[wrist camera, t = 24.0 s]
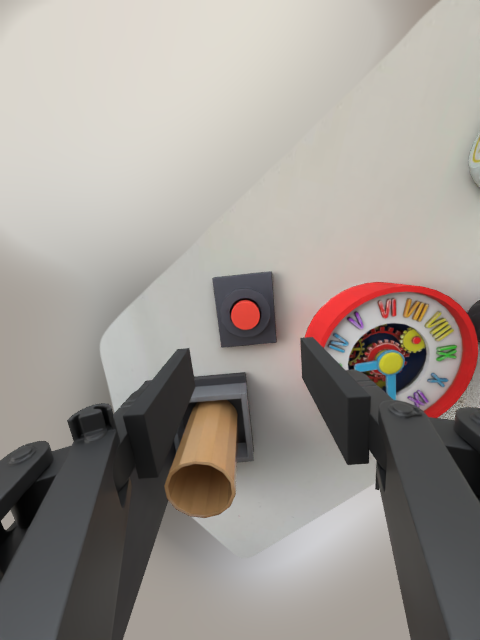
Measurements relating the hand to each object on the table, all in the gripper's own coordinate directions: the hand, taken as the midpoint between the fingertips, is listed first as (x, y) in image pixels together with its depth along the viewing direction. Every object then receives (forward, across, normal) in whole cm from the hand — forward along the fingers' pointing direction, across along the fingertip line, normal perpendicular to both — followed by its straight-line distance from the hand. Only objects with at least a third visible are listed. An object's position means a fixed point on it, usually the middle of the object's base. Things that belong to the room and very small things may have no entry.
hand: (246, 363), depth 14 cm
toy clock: (+19, +18, -8) cm, 28 cm away
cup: (+18, -7, -17) cm, 26 cm away
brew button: (+16, 0, 0) cm, 16 cm away
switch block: (+19, 0, 0) cm, 19 cm away
